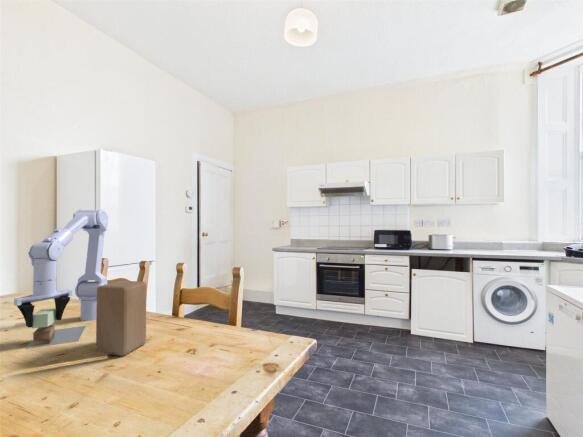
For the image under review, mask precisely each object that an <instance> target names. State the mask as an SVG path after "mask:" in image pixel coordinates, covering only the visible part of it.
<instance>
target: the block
mask: <svg viewBox="0 0 583 437" xmlns="http://www.w3.org/2000/svg"><path fill="white" fill-rule="evenodd" d="M95 321H96V327H95V328H96V331H95V332H96V333H95V334H96V336H95V351H97V352H105V353H107V352H108V356H109V355H110V356H119V357H123V356H126V355H128V354H130V353H132V352H134V350H137V349H138V348H140V347H142V346H144V345H145V344H146V342H147V282H145V281H131V280H119V281H115V282H112V283H111V282H110V283H107V284H106V285H102V286H99V287H98V288H97V317H96V320H95Z"/></svg>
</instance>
